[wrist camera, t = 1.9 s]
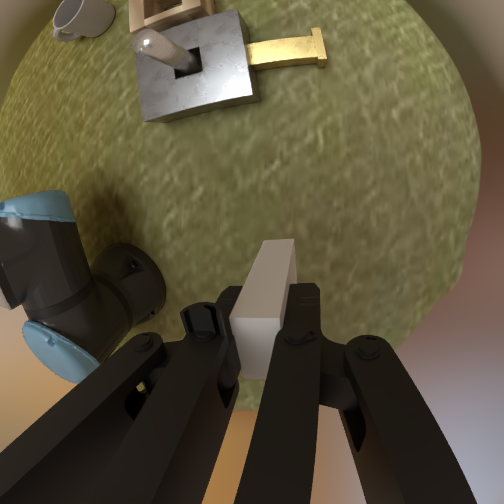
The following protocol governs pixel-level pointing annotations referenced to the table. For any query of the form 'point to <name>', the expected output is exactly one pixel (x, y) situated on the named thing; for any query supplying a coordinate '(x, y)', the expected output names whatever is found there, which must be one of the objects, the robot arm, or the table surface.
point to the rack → (166, 13)
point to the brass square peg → (288, 52)
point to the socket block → (204, 83)
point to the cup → (82, 19)
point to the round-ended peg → (166, 52)
